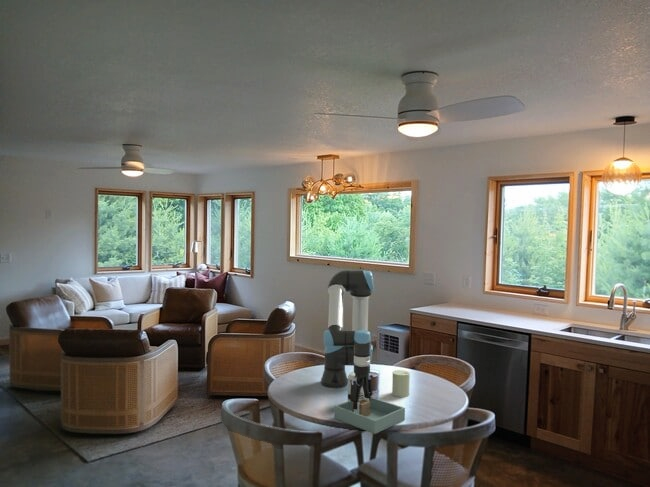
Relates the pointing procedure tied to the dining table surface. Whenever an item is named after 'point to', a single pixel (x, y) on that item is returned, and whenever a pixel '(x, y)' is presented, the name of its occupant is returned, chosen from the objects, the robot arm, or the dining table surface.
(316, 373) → the dining table surface
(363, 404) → the walnut cube
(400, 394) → the can
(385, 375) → the dining table surface
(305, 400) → the dining table surface
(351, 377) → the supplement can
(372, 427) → the tote
